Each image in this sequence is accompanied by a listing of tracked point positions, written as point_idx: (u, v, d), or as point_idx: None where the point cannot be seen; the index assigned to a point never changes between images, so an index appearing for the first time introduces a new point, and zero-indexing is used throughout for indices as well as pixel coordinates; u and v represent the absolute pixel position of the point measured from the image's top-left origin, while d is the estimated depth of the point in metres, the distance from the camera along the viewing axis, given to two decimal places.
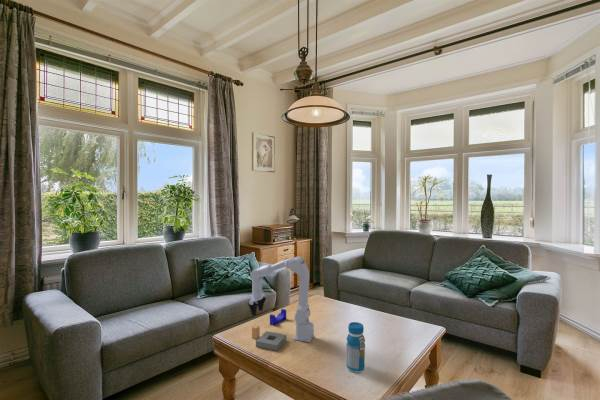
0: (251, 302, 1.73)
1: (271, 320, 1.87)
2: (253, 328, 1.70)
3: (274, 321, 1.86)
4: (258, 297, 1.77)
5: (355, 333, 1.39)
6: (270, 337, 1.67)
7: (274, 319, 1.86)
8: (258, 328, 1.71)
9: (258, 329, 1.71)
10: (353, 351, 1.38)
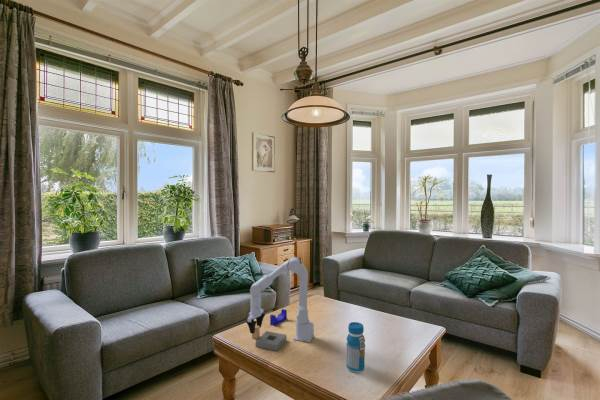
0: (249, 320, 1.64)
1: (271, 320, 1.86)
2: None
3: (274, 321, 1.86)
4: (257, 314, 1.68)
5: (355, 333, 1.39)
6: (270, 337, 1.67)
7: (274, 319, 1.86)
8: (258, 328, 1.71)
9: (258, 329, 1.71)
10: (353, 351, 1.38)
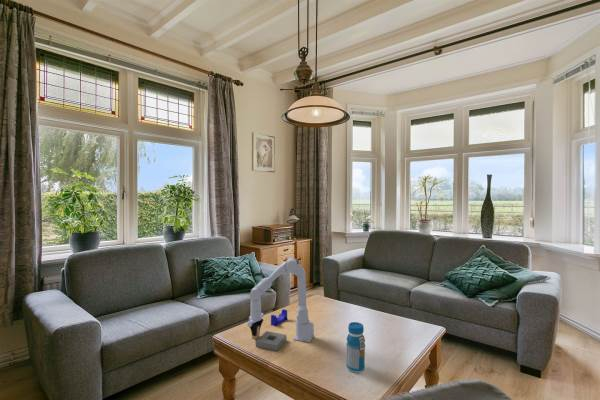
0: (249, 324, 1.64)
1: (272, 320, 1.86)
2: None
3: (275, 321, 1.86)
4: (257, 318, 1.68)
5: (355, 333, 1.39)
6: (270, 337, 1.67)
7: (275, 319, 1.86)
8: (258, 328, 1.71)
9: (258, 329, 1.71)
10: (353, 351, 1.38)
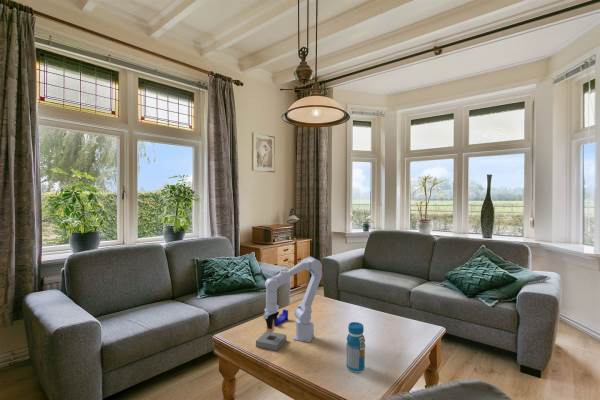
0: (265, 316, 1.57)
1: None
2: None
3: (276, 322, 1.86)
4: (273, 310, 1.61)
5: (355, 333, 1.39)
6: (270, 337, 1.67)
7: (276, 320, 1.86)
8: (273, 321, 1.64)
9: (273, 322, 1.64)
10: (353, 351, 1.38)
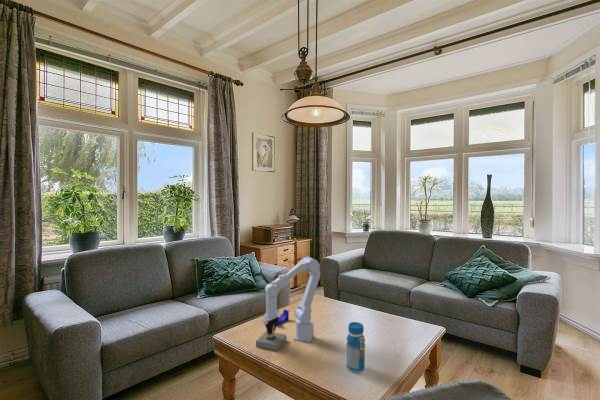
0: (265, 322, 1.57)
1: None
2: None
3: (277, 322, 1.85)
4: (273, 316, 1.61)
5: (355, 333, 1.39)
6: None
7: None
8: (273, 326, 1.64)
9: (273, 328, 1.64)
10: (353, 351, 1.38)
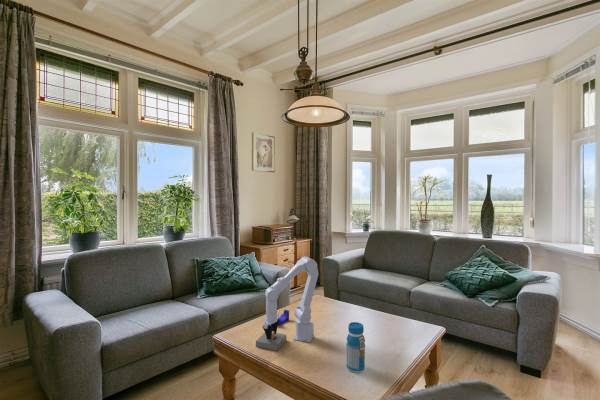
0: (265, 326, 1.57)
1: None
2: None
3: None
4: (273, 320, 1.62)
5: (355, 333, 1.39)
6: None
7: None
8: (273, 334, 1.64)
9: (273, 335, 1.64)
10: (353, 351, 1.38)
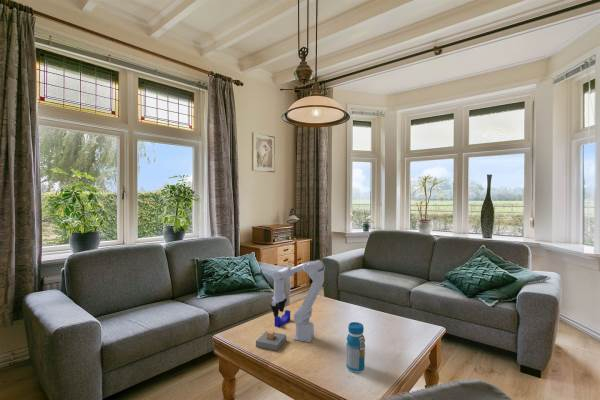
0: (274, 303, 1.73)
1: (276, 322, 1.85)
2: (268, 334, 1.63)
3: (279, 322, 1.84)
4: (280, 298, 1.77)
5: (355, 333, 1.39)
6: None
7: (279, 320, 1.84)
8: (273, 334, 1.64)
9: (273, 335, 1.64)
10: (353, 351, 1.38)
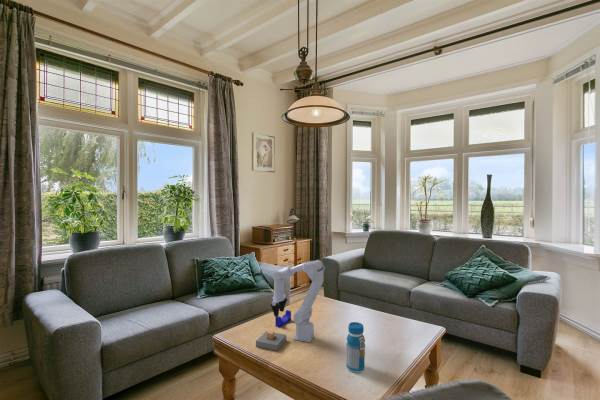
0: (274, 303, 1.73)
1: (277, 322, 1.84)
2: (268, 334, 1.63)
3: (280, 323, 1.84)
4: (280, 298, 1.77)
5: (355, 333, 1.39)
6: None
7: (280, 321, 1.84)
8: (273, 334, 1.64)
9: (273, 335, 1.64)
10: (353, 351, 1.38)
